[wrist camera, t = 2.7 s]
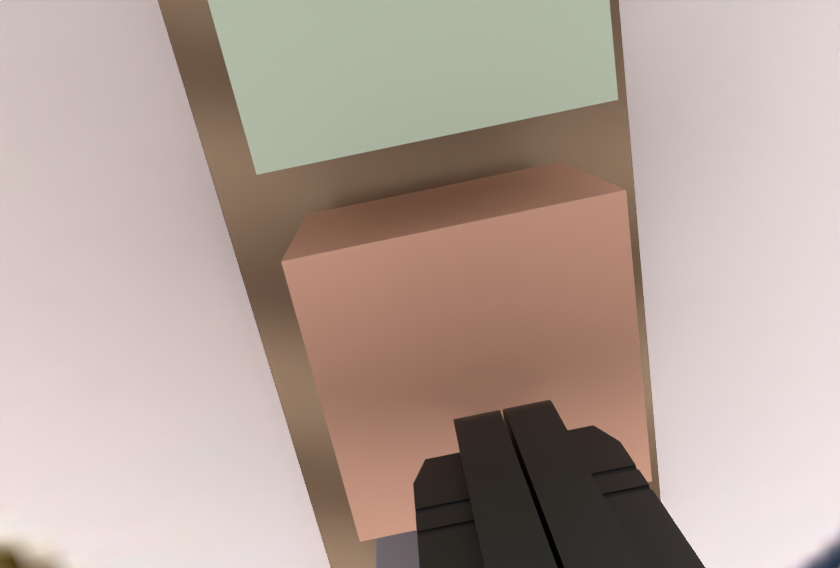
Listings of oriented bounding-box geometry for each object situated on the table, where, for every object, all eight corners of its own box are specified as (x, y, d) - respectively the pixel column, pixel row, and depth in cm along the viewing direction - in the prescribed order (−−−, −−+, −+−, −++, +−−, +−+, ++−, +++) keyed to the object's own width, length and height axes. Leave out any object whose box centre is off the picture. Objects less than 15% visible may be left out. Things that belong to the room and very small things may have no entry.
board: (120, -164, 14) (57, -223, 12) (580, -259, 14) (630, -342, 12) (353, 613, 22) (349, 692, 19) (654, 551, 22) (694, 620, 19)
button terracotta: (306, 214, 14) (280, 261, 11) (561, 161, 14) (626, 189, 10) (364, 436, 16) (359, 541, 12) (589, 389, 16) (652, 481, 12)
